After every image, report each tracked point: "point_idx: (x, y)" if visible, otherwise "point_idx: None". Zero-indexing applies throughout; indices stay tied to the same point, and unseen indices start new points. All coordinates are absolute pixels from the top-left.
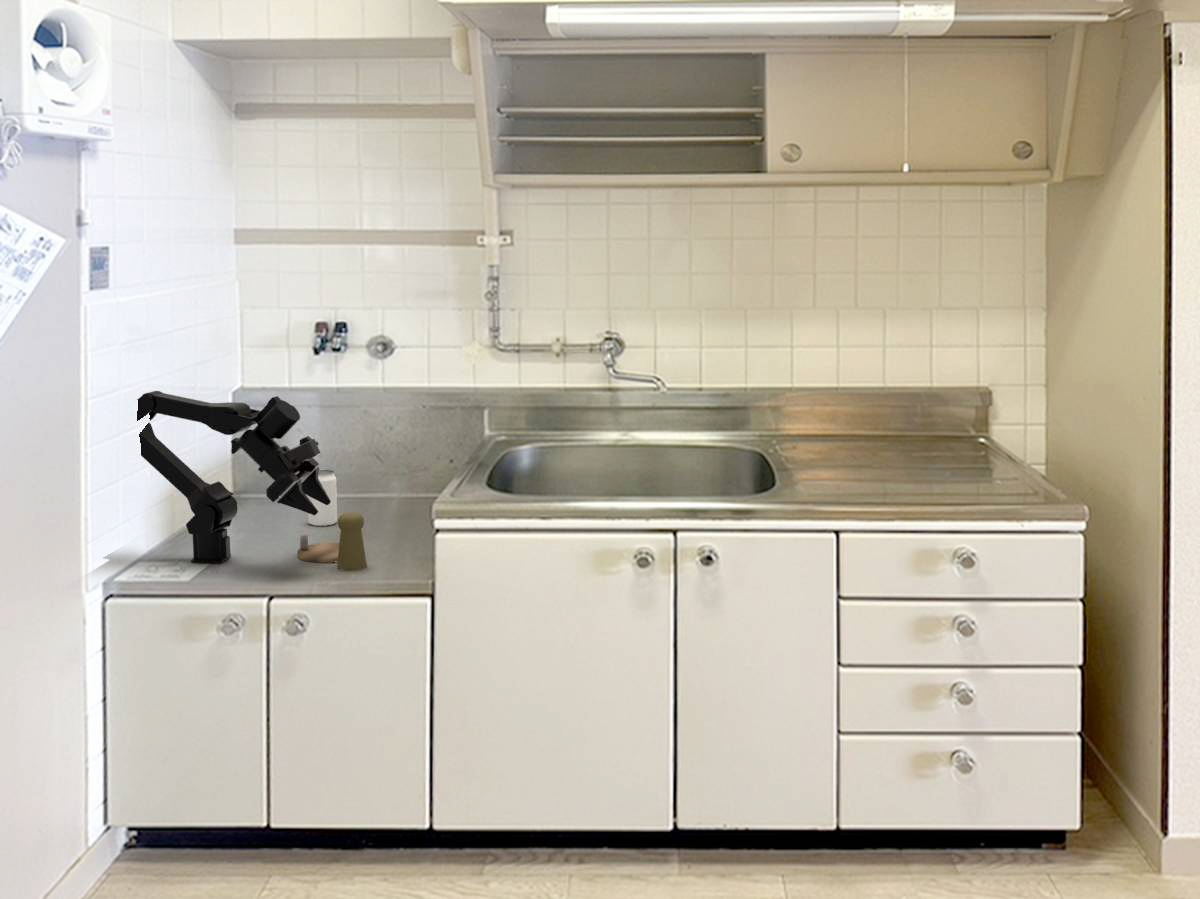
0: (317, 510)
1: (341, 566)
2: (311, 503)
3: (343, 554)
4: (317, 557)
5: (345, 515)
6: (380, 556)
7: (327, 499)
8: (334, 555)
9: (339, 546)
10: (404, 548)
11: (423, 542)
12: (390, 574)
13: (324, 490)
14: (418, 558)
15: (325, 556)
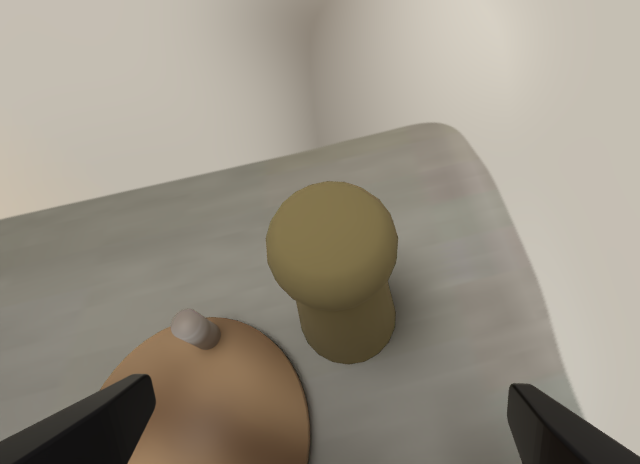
0: (525, 386)
1: (388, 335)
2: (607, 448)
3: (388, 315)
4: (296, 460)
5: (359, 240)
6: (228, 262)
7: (131, 396)
8: (265, 393)
9: (362, 330)
10: (151, 225)
11: (102, 199)
12: (412, 194)
13: (12, 437)
14: (253, 174)
15: (281, 427)
